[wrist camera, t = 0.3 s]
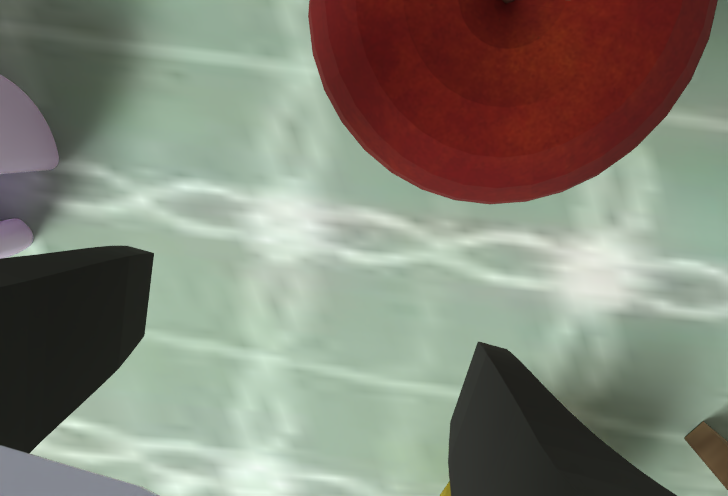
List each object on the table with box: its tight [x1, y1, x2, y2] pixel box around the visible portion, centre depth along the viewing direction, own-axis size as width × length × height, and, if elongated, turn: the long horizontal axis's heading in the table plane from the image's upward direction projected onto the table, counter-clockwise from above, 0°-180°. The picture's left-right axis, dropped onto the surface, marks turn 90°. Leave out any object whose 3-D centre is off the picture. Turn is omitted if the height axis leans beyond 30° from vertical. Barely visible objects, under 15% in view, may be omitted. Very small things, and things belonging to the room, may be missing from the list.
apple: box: [308, 0, 718, 204], centre depth 15 cm, size 10×10×10 cm
